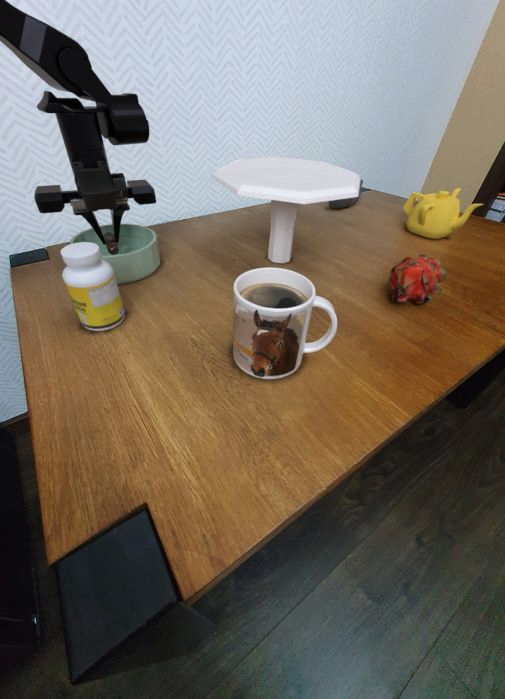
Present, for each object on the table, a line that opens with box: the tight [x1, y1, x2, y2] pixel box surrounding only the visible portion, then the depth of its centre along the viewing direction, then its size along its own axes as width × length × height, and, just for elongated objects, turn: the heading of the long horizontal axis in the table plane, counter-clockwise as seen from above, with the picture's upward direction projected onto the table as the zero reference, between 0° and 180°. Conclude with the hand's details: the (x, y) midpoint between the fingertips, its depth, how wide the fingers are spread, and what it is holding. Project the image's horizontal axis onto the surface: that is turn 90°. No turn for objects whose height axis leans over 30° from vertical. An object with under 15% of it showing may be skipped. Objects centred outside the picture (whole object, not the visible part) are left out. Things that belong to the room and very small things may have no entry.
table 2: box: [210, 156, 362, 264], centre depth 61 cm, size 28×28×17 cm
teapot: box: [402, 187, 484, 239], centre depth 79 cm, size 14×13×10 cm
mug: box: [232, 266, 338, 380], centre depth 40 cm, size 10×12×11 cm
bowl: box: [69, 223, 162, 285], centre depth 60 cm, size 15×15×6 cm
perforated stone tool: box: [328, 178, 364, 210], centre depth 93 cm, size 15×5×7 cm, turn 132°
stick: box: [104, 232, 119, 255], centre depth 59 cm, size 2×8×2 cm, turn 26°
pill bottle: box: [60, 242, 126, 332], centre depth 44 cm, size 6×6×12 cm
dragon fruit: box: [387, 253, 447, 304], centre depth 54 cm, size 8×8×12 cm
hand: (110, 243), depth 59 cm, fingers closed on stick, 2 cm apart
